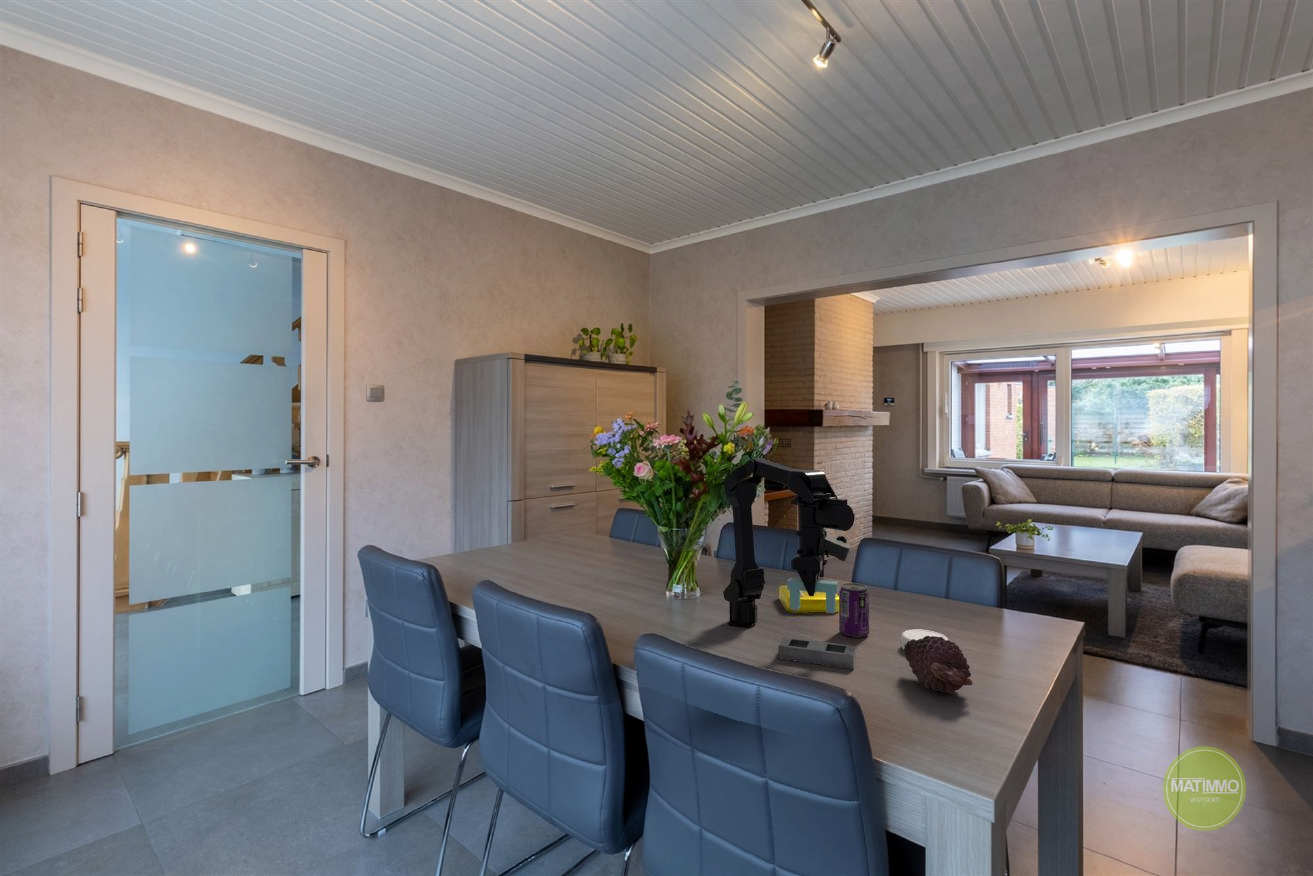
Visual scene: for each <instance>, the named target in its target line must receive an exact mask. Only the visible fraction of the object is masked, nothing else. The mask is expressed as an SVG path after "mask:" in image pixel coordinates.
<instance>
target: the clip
mask: <svg viewBox="0 0 1313 876" xmlns="http://www.w3.org/2000/svg"><path fill="white" fill-rule="evenodd" d="M786 585H787V590H790V610H799V608H800V591H806V588H805V586H804V584H803V582H802V580H801V578H797V577H796V578H795V577H794V578H792V577H789V578H788V579H787V580H786ZM815 592H825V593H826V613H825V614H836V613H835V611H836V594H838V593H839V581H837V580H825V579H821V580H820V579H819V580H816V586H815Z"/></svg>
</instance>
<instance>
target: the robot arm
mask: <svg viewBox="0 0 1313 876" xmlns="http://www.w3.org/2000/svg"><path fill="white" fill-rule="evenodd" d="M764 479H766V480H769V481H773V482H776V483H778V484H782V485H784V486H786V487H787V489H788V491H790V492H791V493H793V494H794V495H796V496H795V498H793V499H792V500H791V502H790V504H791V505H792V506H797V525H798V526H797V528H798V529H797V530H796V537H798V539H797V540H798V548H797V549H796V553H797V554H796V555H795V556H794V557H793V558H792V559H791V561H790V565H791V566H790V568H791V570H792V571H796V572H797V573H798V576H799V577H800V578H799V579H801V580H802V582H803V584H804V586H805V588H806V591H807V593H808V595H809V596H814V593H815V586H816V580H820V574H821V572H822V571H823V569H824V568H825V566H826V564H828V560H827V559H823V558H822V556H823V557H824V556H825V557H826V558H830V557H831V556H832V557H834V558H836V559H838V560H839V561H842V562H846V560H847V558H848V556H849V552H850V550H851V548H852V545H851V544H850V543H848V540H847V536H844V535H842V534H840V535H838V537H836V538H835V537H831V536H828V534H827V533H828V532H827V530H826V529H829V530H834V531H836V530H837V531H842V532H847V531H849V530H851V529H852V528H853V526H854V524H855V519H856V516H855V513H854V511H853V508H852V507H851V506H850V505H849V504H848V499H847V498H839V497H838V496H837V494H836V492H835V491H834V489H833V487H832V485H831V484H830V482H829V480H828V479H827V476H826V473H825V472H824V471H822V470H819V469H798V468H797V469H795V468H793V467H789V466H786V465H783V464H780V463H776V462H773V461H770V460H767V459H766V458H764V457H762V458H761V457H760V458H759V457H758V458H750V459H748V460H746V462H744V464H742V465H741V466H739V467H737V468H735V469H734V470H732V471H731V472H730V473H729V474H727V475H726V477H725V478H724V479H723V480H724V481H723V488H724V493H725V498H726V500H727V501H728V503H729V504H730V505H731V507H732V519H733V520H732V522H733V534H734V535H733V536H734V548H735V549H734V551H735V562H734V566H733V568H732V569H731V571H730V583H729V584H728V585H727V586H726V588H725V589H724V590H723V591H722V594H723V598H724V600H725V601H726V602H729V606H728V607H729V620H728V621H727V625H729V626H736V627H743V628H744V627H745V628H753V626H754V625H755V623H756V622H758V605H757V604H756V600H760V599H761V596H762V593H763V591H764V589H765V584H766V581H765V570H764V568H763V567H761V568H760V567H759V565H758V563H757V562H756V556H755V555H756V554H755V553H756V552H755V540H754V526H753V510H752V509H753V508H752V507H753V504H754V501H756V498H757V492H758V491H757V490H758V486H759V485H760V484H762V482H763V481H764Z"/></svg>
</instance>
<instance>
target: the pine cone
mask: <svg viewBox="0 0 1313 876" xmlns="http://www.w3.org/2000/svg"><path fill="white" fill-rule="evenodd" d="M904 647H905V648H904V650H903V651H904V653H905V660H906V661H907V662H908V666H909V667H910V668H911V669H912V670H911V672H912V674H913V675H915V676H916V679H917V681H918V682H919V683H922V684H923V685H924V687H925V688H926V689H932V690H933V691H934V692H941V693H945V694H946V693H948V694H953V693H956V691H959V690H960V689H962V687H964V686H973V684H974V683H973V680H972V679H970V677H971V676H972V673H971V671H970V670H969V669H970V668H971V666H970V665H969V664H968V660H967V658H966V657H965V656H964V653H963V650H961V648H960V646H959V645H957V644H956V643H955V641H954V642H953V641H951V640H949V639H948V640H945V639H944V638H942V637H935V636H931V637H930V636H925V637H924V638H923V639H918V640H915V639H912V640H911V641H908V642H907V644H905V646H904Z"/></svg>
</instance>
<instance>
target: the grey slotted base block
mask: <svg viewBox="0 0 1313 876" xmlns="http://www.w3.org/2000/svg"><path fill="white" fill-rule="evenodd" d="M777 652H778V654H777V655H778V658H783V659H788V660H787V661H789V660H796V661H801V662H800V663H803V662H808V663H807V664H810V663H813V664H812V665H817V664H821V665H820V666H824V665H826V666H825V667H831V666H834V667H833V668H839V669H844V668H846V670H851V669H853V670H855V666H856V661H857V646H856V645H849V644H842V643H833V642H825V641H818V640H811V639H803V638H795V637H788V636H783V638H782V639H781V641H780V642H779V644H778V651H777ZM778 658H777V659H778ZM796 661H795V662H796ZM853 670H852V671H853Z"/></svg>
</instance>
